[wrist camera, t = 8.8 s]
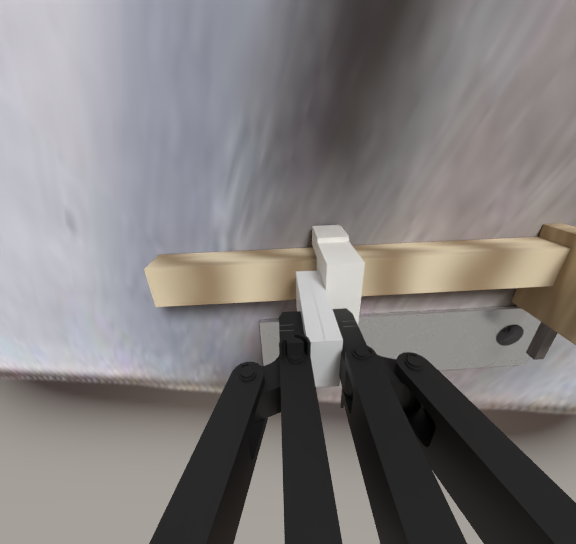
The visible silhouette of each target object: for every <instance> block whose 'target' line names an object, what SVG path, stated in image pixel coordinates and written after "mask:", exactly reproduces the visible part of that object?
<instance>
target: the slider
mask: <svg viewBox="0 0 576 544" xmlns="http://www.w3.org/2000/svg"><path fill="white" fill-rule="evenodd" d="M312 246H313V248H314V251H315V254H316V257H317V270H319V272H320V275H321V278H322V281H323V284H324V287H325V290H326V292H327V295H328V298H329V301H330V304H331V307H332V309H343V308H347V309H348V310H349V311H350V312H351V313H352V314H353V316H354V318H355V320H356V322H357V324H358V322H359V313H360V304H361V295H362V285H363V276H364V267H365V262H364V261H363V259H362V258H361V257H360V255H359V254H358V253H357V251H356V250H355V249H354V247H353V246H352V245H351V243H350V242H349V236H348V234H347V233H346V232H345V231H344V229H343V228H342V227H341V226H340V225H326V226H312Z"/></svg>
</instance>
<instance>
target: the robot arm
mask: <svg viewBox="0 0 576 544" xmlns="http://www.w3.org/2000/svg"><path fill="white" fill-rule="evenodd" d="M296 307H297V312H282V314H281V316H280V317H279V337H280V342H279V356H278V358H277V359H276V360H275V361H273V362H272V363H270V364H268V365H265V366H260V365H259V364H258V363H254V362H245V363H242V364H240V365H238V366H237V367H235V369H234V370H233V371H232V373H231V375H230V377H229V379H228V382H227V384H226V386H225V388H224V390H223V392H222V394H221V396H220V398H219V400H218V402H217V404H216V406H215V409H214V411H213V413H212V415H211V417H210V419H209V421H208V423H207V425H206V427H205V429H204V431H203V433H202V435H201V437H200V440H199V442H198V444H197V446H196V448H195V450H194V452H193V454H192V456H191V458H190V461H189V463H188V464H187V466H186V469H185V471H184V473H183V475H182V477H181V479H180V481H179V483H178V485H177V487H176V490H175V491H174V494H173V495H172V498H171V500H170V502H169V504H168V506H167V508H166V510H165V512H164V514H163V516H162V518H161V520H160V522H159V524H158V527H157V529H156V531H155V533H154V535H153V537H152V539H151V541H150V543H149V544H233V543H234V540H235V536H236V532H237V529H238V525H239V521H240V518H241V514H242V510H243V507H244V503H245V499H246V496H247V492H248V489H249V485H250V481H251V478H252V474H253V470H254V467H255V463H256V460H257V456H258V452H259V449H260V445H261V441H262V438H263V434H264V431H265V427H266V423H267V420H268V417H269V416H272V415H275V414H277V413H280V412H281V419H282V420H281V421H282V457H283V493H284V526H285V527H284V529H285V544H342V539H341V533H340V527H339V521H338V515H337V509H336V504H335V498H334V492H333V486H332V480H331V474H330V469H329V463H328V457H327V451H326V445H325V439H324V433H323V427H322V422H321V416H320V410H319V404H318V398H317V392H316V387H330V386H339V383H340V380H341V384H342V395H341V408H343V407H344V406H345V410H346V414H347V417H348V421H349V425H350V429H351V433H352V436H353V440H354V444H355V448H356V452H357V456H358V460H359V463H360V467H361V471H362V475H363V479H364V483H365V486H366V490H367V494H368V498H369V502H370V505H371V509H372V513H373V517H374V520H375V525H376V528H377V532H378V536H379V540H380V544H467V543H466V541H465V539H464V537H463V534H462V532H461V530H460V528H459V526H458V524H457V522H456V520H455V518H454V515H453V513H452V511H451V509H450V507H449V505H448V503H447V501H446V499H445V497H444V494H443V492H442V490H441V488H440V486H439V484H438V482H437V480H436V478H435V476H434V474H433V472H434V473H435V474H436V476H437V477H438V479H439V480H440V482H441V483H442V485H443V486H444V487H445V489H446V490H447V492H448V493H449V494H450V496H451V497H452V499H453V500H454V502H455V503H456V504H457V506H458V507H459V509H460V510H461V512H462V513H463V514H464V515H465V517H466V519H467V520H468V522H469V523H470V524H471V526H472V527H473V529H474V530H475V531H476V533H477V534H478V536H479V537H480V539H481V540H482V541H483V543H484V544H576V503H575V502H574V501H573V500H572V499H571V498H570V497H569V496H568V495H567V494H566V493H565V492H564V491H563V490H562V489H560V487H559V486H558V485H557V484H555V483H554V482H553V481H552V480H551V479H550V478H549V477H548V476H547V475H546V474H545V473H544V472H543V471H542V470H541V469H540V468H539V467H538V466H537V465H536V464H535V463H534V462H533V461H532V460H531V459H530V458H529V457H528V456H526V455H525V454H524V453H523V452H522V451H521V450H520V449H519V448H518V447H517V446H516V445H515V444H514V443H513V442H512V441H511V440H510V439H509V438H508V437H507V436H506V435H505V434H504V433H503V432H502V431H501V430H500V429H499V428H497V427H496V426H495V425H494V424H493V423H492V422H491V421H490V420H489V419H488V418H487V417H486V416H485V415H484V414H483V413H482V412H481V411H480V410H479V409H478V408H477V407H476V406H475V405H474V404H473V403H472V402H471V401H469V400H468V399H467V398H466V397H465V396H464V395H463V394H462V393H461V392H460V391H459V390H458V389H457V388H456V387H455V386H454V385H453V384H452V383H451V382H450V381H449V380H448V379H447V378H446V377H445V376H444V375H443V374H441V373H440V372H439V371H438V370H437V369H436V368H435V367H434V366H433V365H432V364H431V363H430V362H429V361H428V360H427V359H425V358H424V357H423V356H421V355H419V354H416V353H411V352H404V353H402V354H400V355H399V356H398V357H397V359H392V358H387V357H383V356H380V355H377V354H376V352H375V351H374V350H373V349H372V348H371V347H369V346H367V344H366V342H365V340H364V338H363V335H362V333H361V331H360V329H359V327H358V324H357V322H356V320H355V318H354V316H353V314H352V313H351V312H350V311H349V310H348V309H347V308H343V309H332V307H331V304H330V301H329V298H328V295H327V292H326V290H325V287H324V284H323V281H322V278H321V275H320V272H319V270H317V271H296ZM432 470H433V472H432Z"/></svg>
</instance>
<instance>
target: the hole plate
mask: <svg viewBox="0 0 576 544" xmlns="http://www.w3.org/2000/svg"><path fill="white" fill-rule="evenodd" d="M540 323H541V321H539V320H538V319H536V318H535V317H533V316H532V315H530V314H529V313H528V312H526V311H525V310H523V309H522V308H520V307H519V306H507V307H489V308H470V309H452V310H434V311H416V312H397V313H379V314H361V315H359V322H358V327H359V329H360V331H361V333H362V335H363V338H364V340H365V342H366V344H367V346H369V347H371V348H372V349H373V350H374V351H375V352H376V354H377V355H380V356H383V357H387V358H392V359H397V357H398V356H399V355H400V354H402V353H404V352H411V353H416V354H419V355H421V356H423V357H424V358H425V359H427V360H428V361H429V362H430V363H431V364H432V365H433V366H434V367H435V368H436V369H437V370H450V369H467V368H483V367H499V366H515V365H525V364H526V362H527V360H528V358H529V355H528V354H527V353H526V351H527V349H528V347H529V345H530V343H531V341H532V339H533V337H534V335H535V333H536V331H537V329H538V327H539V325H540ZM259 325H260V335H261V344H262V354H263V364H264V366H265V365H268V364H270V363H272V362H273V361H275V360H276V359H277V358H278V356H279V342H280V337H279V319H270V320H260V321H259Z"/></svg>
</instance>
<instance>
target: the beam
mask: <svg viewBox="0 0 576 544" xmlns="http://www.w3.org/2000/svg"><path fill="white" fill-rule="evenodd" d="M353 247H354V249H355V250H356V251H357V253H358V254H359V255H360V257H361V258H362V259H363V261H364V262H365V267H364V276H363V285H362V295H361V296H375V295H394V294H413V293H432V292H450V291H469V290H488V289H507V288H517V289H516V292H515V294H514V297H513V299H512V301H511V302H513V303H514V304H516V305H517V306H519V307H520V308H522V309H523V310H525V311H526V312H528V313H529V314H530V315H532V316H533V317H535V318H536V319H538V320H539V321H541V323H540V325H539V327H538V329H537V331H536V333H535V335H534V337H533V339H532V341H531V343H530V345H529V347H528V349H527V351H526V353H527V354H528V355H529V356H530V357H532V358H533V359H534V360H535V359H544V357H545V355H546V353H547V352H548V350H549V348H550V346H551V344H552V342H553V340H554V339H555V337H556V335H557V333H559V334H560V335H562V336H563V337H565V338H566V339H568V340H569V341H570V342H572V343H573V344H575V345H576V227H573V226H570V225H566V224H563V223H562V224H544V225H543V227H542V229H541V232H540V234H539V237H524V238H503V239H482V240H461V241H440V242H419V243H397V244H376V245H355V246H353ZM144 271H145V274H146V277H147V280H148V284H149V287H150V290H151V293H152V296H153V300H154V303H155V306H156V307H167V306H186V305H205V304H224V303H242V302H261V301H280V300H296V271H317V257H316V254H315V251H314V248H292V249H271V250H249V251H228V252H207V253H186V254H165V255H158V256H157V257H156V258H155V259H154V260H153V261H152V262H151V263H150V264H149V265H148V266H147V267H146V268H145V269H144Z"/></svg>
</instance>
